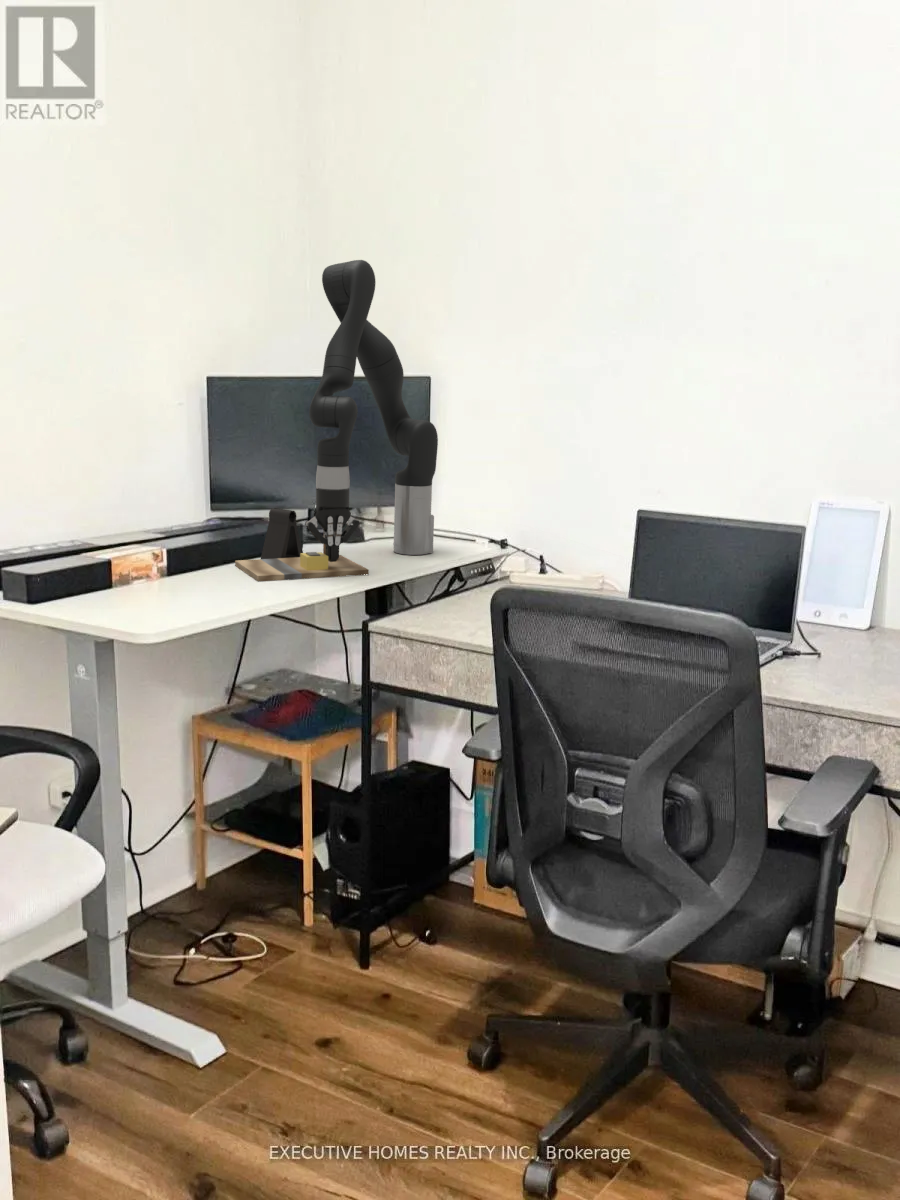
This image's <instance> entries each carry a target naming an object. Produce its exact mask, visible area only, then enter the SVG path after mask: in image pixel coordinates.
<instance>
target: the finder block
mask: <svg viewBox="0 0 900 1200" xmlns="http://www.w3.org/2000/svg"><path fill="white" fill-rule="evenodd" d="M300 566H301V567H302V568H304V569H306V570H324V569H328V556H327V555H325V554H323V552H321V551H320V552H317V551H309V552H303V553H300Z"/></svg>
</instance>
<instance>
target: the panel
mask: <svg viewBox="0 0 900 1200" xmlns="http://www.w3.org/2000/svg"><path fill="white" fill-rule="evenodd" d="M234 562H235V563H234V565H235V566H234V567H237V568H238V569H239V570H241V571H242V572H244V573H245V574H246V575H248V576H249V577H251V578H252V579H254V580H255V581H256V582H266V581H267V582H270V581H271V582H273V581H285V580H288V579H289V580H302V579H303V580H305V579H317V578H318V579H319V578H322V579H323V578H335V577H338V576H339V577H347V576H346V575H355V576H367V575H366V574H369V573H370V572H369V570H370V569H368V568H367V567H365V566H363V565H361V564H359V563H357V562H355V561H353V560H352V559H349V558H347V557H345V556H344V555H341V554H339V558H338V560H337V561H336V562H330V561H328V569H324V570H306V569H304V568H302V567H301V566H300V557H294V558H275V559H261V558H258V559H256V558H255V559H243V560H242V559H240V560H239V559H238V560H235V561H234ZM364 574H365V575H364ZM304 578H305V579H304Z"/></svg>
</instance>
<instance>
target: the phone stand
mask: <svg viewBox="0 0 900 1200" xmlns="http://www.w3.org/2000/svg"><path fill="white" fill-rule="evenodd" d="M268 520H269V521H268V525H267V529H266V533H265V537H264V542H263V547H262V550H261V554H260V555H261V556H260V559H275V558H294V557H300V553H304V550H303V546H302V542H301V537H300V534H299V533H300V532H299V530H298V525H297V513H296V511H295V510H292V509H291V510H290V509H283V508H276V507H274V508H270V509H269V513H268Z"/></svg>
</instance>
